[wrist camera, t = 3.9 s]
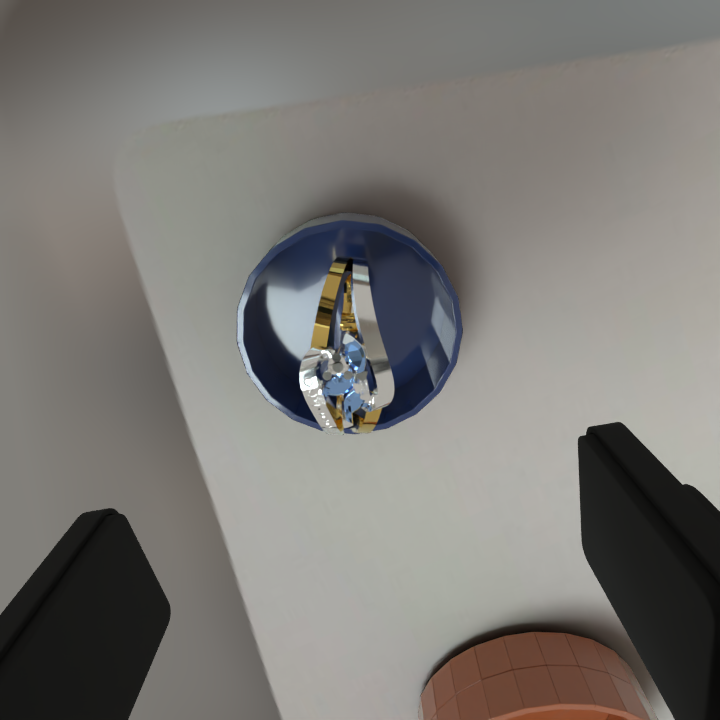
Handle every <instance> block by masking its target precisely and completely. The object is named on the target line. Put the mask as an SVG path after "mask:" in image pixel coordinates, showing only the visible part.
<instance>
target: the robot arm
mask: <svg viewBox="0 0 720 720" xmlns="http://www.w3.org/2000/svg"><path fill="white" fill-rule="evenodd" d="M578 458H579V484H580V510H581V536H582V546H583V550H584V554H585V556H586V559H587V561H588V563H589V565H590V567H591V568H592V570H593V572H594V574H595V576H596V578H597V579H598V581H599V583H600V585H601V587H602V588H603V590H604V592H605V594H606V596H607V597H608V599H609V601H610V603H611V605H612V606H613V608H614V610H615V612H616V614H617V616H618V617H619V619H620V621H621V623H622V625H623V626H624V628H625V630H626V632H627V634H628V635H629V637H630V639H631V641H632V643H633V644H634V646H635V648H636V650H637V652H638V654H639V655H640V657H641V659H642V661H643V663H644V664H645V666H646V668H647V670H648V672H649V673H650V675H651V677H652V679H653V681H654V682H655V684H656V686H657V688H658V690H659V692H660V693H661V695H662V697H663V699H664V701H665V702H666V704H667V706H668V708H669V710H670V711H671V713H672V715H673V717H674V719H675V720H720V511H719V510H718V509H717V508H716V507H715V506H714V505H713V504H712V503H711V502H710V501H709V500H708V499H707V498H706V497H705V496H704V495H703V494H702V493H701V492H699V491H698V490H697V489H696V488H694V487H693V486H690V485H688V484H684V485H682V484H681V483H680V482H679V481H678V480H677V479H676V478H675V477H674V476H673V475H672V474H671V473H670V471H669V470H668V469H667V468H666V467H665V466H664V465H663V464H662V463H661V462H660V461H659V460H658V459H657V458H656V457H655V456H654V455H653V454H652V453H651V452H650V451H649V450H648V449H647V448H646V447H645V446H644V445H643V444H642V443H641V442H640V441H639V440H638V439H637V438H636V437H635V435H634V434H633V433H632V432H631V431H630V430H629V429H628V428H627V427H626V426H625V425H624V424H622V423H621V422H615V423H610V424H604V425H598V426H592V427H589V428H588V429H587V432H586V435H585V436H580V437H579V439H578ZM170 614H171V613H170V604H169V602H168V600H167V598H166V596H165V594H164V592H163V590H162V588H161V586H160V584H159V582H158V580H157V578H156V576H155V574H154V572H153V570H152V568H151V566H150V564H149V562H148V560H147V558H146V556H145V554H144V552H143V550H142V549H141V546H140V544H139V542H138V540H137V538H136V536H135V534H134V532H133V530H132V528H131V526H130V524H129V522H128V520H127V518H126V517H125V516H124V515H123V514H119V513H118V512H117V511H116V510H115V509H112V508H108V509H102V510H96V511H91V512H86V513H83V514H81V515H80V516H79V517H78V518H77V520H76V521H75V522H74V523H73V524H72V526H71V527H70V528H69V530H68V531H67V532H66V533H65V534H64V536H63V537H62V538H61V540H60V541H59V542H58V543H57V545H56V546H55V547H54V548H53V550H52V551H51V552H50V553H49V555H48V556H47V557H46V558H45V559H44V561H43V562H42V563H41V565H40V566H39V567H38V568H37V570H36V571H35V572H34V573H33V575H32V576H31V577H30V578H29V580H28V581H27V582H26V583H25V585H24V586H23V587H22V588H21V590H20V591H19V592H18V593H17V595H16V596H15V597H14V598H13V600H12V601H11V602H10V603H9V605H8V606H7V607H6V608H5V610H4V611H3V612H2V613H1V615H0V720H128V718H129V716H130V714H131V711H132V709H133V707H134V704H135V702H136V699H137V697H138V695H139V692H140V690H141V687H142V685H143V683H144V681H145V678H146V676H147V673H148V671H149V669H150V666H151V664H152V661H153V659H154V656H155V654H156V652H157V650H158V647H159V645H160V642H161V640H162V638H163V635H164V633H165V631H166V628H167V626H168V623H169V620H170Z"/></svg>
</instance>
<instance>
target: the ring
mask: <svg viewBox="0 0 720 720" xmlns="http://www.w3.org/2000/svg"><path fill="white" fill-rule="evenodd" d="M343 286H344V303H343V309H342V315H341V324H340V330H341V337H340V348H339V347H338V348H334V335H335V323H336V315H337V309H338V304H339V299H340V296H341V292H342V289H343ZM357 332H358V333H359V337H360V340H361V343H362V344H361V343H360V342H359V341H358V340H357ZM366 359H367V362H368V365H369V368H370V371H371V374H372V378H373V383H374V391H370V392H369V385H368V379H367V372H368V370H367V366H366ZM325 360H328V365H327V366H326V368H325V371H324V373H323V378H324V379H325V380H326V381H324V380H323V381H322V377H321V365H322V363H323V361H325ZM300 385H301V389H302V392H303V395H304V398H305V400H306V402H307V404H308V406H309V408H310V410H311V411H312V413H313V415H314V417H315V418H316V420H317V422H318V423H319V425H320V427H321V428H322V429H323V431H324V432H325V433H326V434H337V435H344V434H345V428H348V427H350V428H351V430H352V431H353V432H354V433H370V432H371V431H372V430H373V429H374V427H375V426H376V424H377V421H378V419H379V416H380V413H381V410H382V408H383V407H386V406H388V405H389V404H390V403H391V401H392V399H393V396H394V379H393V375H392V371H391V367H390V364H389V361H388V358H387V354H386V351H385V348H384V345H383V342H382V338H381V335H380V331H379V328H378V324H377V320H376V316H375V311H374V306H373V301H372V296H371V290H370V283H369V275H368V264H367V259H366V258H360V257H350V256H341V255H340V256H338V257H337V258H336V259H335V260H334V262H333V264H332V266H331V268H330V270H329V273H328V275H327V278H326V281H325V284H324V287H323V291H322V294H321V298H320V302H319V306H318V310H317V315H316V319H315V325H314V330H313V336H312V342H311V348H310V350H309V351H308V352H307V353H306V355H305V356H304V358H303V360H302V363H301V366H300ZM329 395H332V396H336V398H335V406H334V404H333V403H332V401H331V399H330V397H329Z"/></svg>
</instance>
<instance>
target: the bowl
mask: <svg viewBox="0 0 720 720" xmlns="http://www.w3.org/2000/svg"><path fill="white" fill-rule="evenodd" d="M418 717H419V720H658V718H657V716H656V714H655V713H654V711H653V709H652V707H651V705H650V703H649V702H648V700H647V698H646V696H645V694H644V692H643V690H642V688H641V686H640V685H639V683H638V681H637V679H636V677H635V675H634V673H633V672H632V670H631V668H630V666H629V665H628V664H627V663H626V662H625V661H624V660H623V659H622V658H621V657H620V656H619V655H618V654H617V653H616V652H615V651H613V650H612V649H610V648H608V647H606V646H604V645H602V644H600V643H598V642H596V641H594V640H592V639H589V638H584V637H580V636H576V635H572V634H568V633H554V632H528V633H521V634H514V635H507V636H503V637H499V638H496V639H493V640H490V641H487V642H484V643H481V644H478V645H475V646H473V647H471V648H469V649H468V650H466V651H464V652H462V653H461V654H459V655H457V656H455V657H454V658H452V659H450V661H448V662H447V663H446V664H445V665H444V666H443V667H442V668H441V669H440V670H439V671H437V672H436V673H435V674H434V675H433V677H431V679H430V680H429V682H428V684H427V686H426V687H425V689H424V691H423V692H422V694H421V699H420V705H419V711H418Z"/></svg>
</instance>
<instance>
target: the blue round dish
mask: <svg viewBox="0 0 720 720" xmlns="http://www.w3.org/2000/svg"><path fill="white" fill-rule="evenodd" d="M340 255H341V256H350V257H360V258H366V259H367V264H368V275H369V283H370V290H371V296H372V301H373V306H374V311H375V316H376V320H377V324H378V328H379V331H380V335H381V338H382V342H383V345H384V348H385V351H386V354H387V358H388V361H389V364H390V367H391V371H392V375H393V379H394V396H393V399H392V401H391V403H390V404H389V405H388V406H386V407H383V408H382V410H381V413H380V416H379V419H378V421H377V424H376V426H375V427H374V429H373V430H372V431H376V430H381V429H387V428H389V427H391V426H393V425H395V424H397V423H399V422H401V421H403V420H405V419H407V418H409V417H411V416H414V415H416V414H417V413H418V412H419V411H420V410H421V409H422V408H423V407H425V406H426V405H427V404H428V403H429V402H430V401H431V400H432V399H433V398H434V397H435V396H436V395H438V394H439V393H440V391H441V390H442V388H443V386H444V384H445V383H446V381H447V379H448V377H449V376H450V374H451V372H452V370H453V369H454V367H455V365H456V363H457V358H458V353H459V348H460V343H461V338H462V333H463V328H462V321H461V313H460V306H459V298H458V296H457V294H456V292H455V290H454V288H453V286H452V284H451V282H450V280H449V278H448V276H447V274H446V272H445V270H444V268H443V266H442V265H441V264H440V263H439V261H438V260H437V259H436V257H435V256H434V255H433V254H432V252H431V251H430V250H428V249H427V248H426V247H425V246H424V245H423V244H422V243H421V242H420V241H419V240H418V239H417V238H416V237H415V236H414V235H413V234H412V233H411V232H410V231H408V230H407V229H405V228H402V227H400V226H398V225H397V224H395V223H392V222H390V221H388V220H385V219H383V218H381V217H379V216H373V215H366V214H358V213H346V212H345V213H339V214H334V215H327V216H324V217H320V218H316V219H312V220H309V221H308V222H306V223H304V224H303V225H301V226H299V227H298V228H296V229H295V230H293V231H291V232H290V233H288V234H286V235H285V236H283V237H282V238H281V239H280V240H279V241H278V242H277V243H276V244H275V245H274V246H273V247H272V248H271V250H270V251H269V252H268V253H267V254H266V256H265V257H264V258H263V259H262V260H261V262H260V263H259V264H258V265H257V267H256V268H255V269H254V270H253V271H252V273H251V274H250V275H249V277H248V280H247V283H246V285H245V288H244V291H243V294H242V296H241V299H240V302H239V305H238V307H237V308H238V309H237V344H238V347H239V350H240V353H241V356H242V359H243V362H244V365H245V368H246V371H247V373H248V375H249V377H250V378H251V379H252V381H253V382H254V384H255V385H256V386H257V388H258V389H259V390H260V392H261V393H262V394H263V396H264V397H265V399H266V400H267V401H268V402H270V403H271V404H272V405H274V406H275V407H276V408H278V409H279V410H280V411H282V412H283V413H284V414H286V415H287V416H288V417H290V418H291V419H293V420H295V421H297V422H300V423H303V424H305V425H308V426H310V427H313V428H316V429H318V430H321V431H323V429H322V428H321V427H320V425H319V423H318V422H317V420H316V418H315V417H314V415H313V413H312V411H311V410H310V408H309V406H308V404H307V402H306V400H305V398H304V395H303V392H302V389H301V385H300V366H301V363H302V360H303V358H304V356H305V355H306V353H307V352H308V351H309V350H310V348H311V342H312V336H313V330H314V325H315V319H316V315H317V310H318V306H319V302H320V298H321V294H322V291H323V287H324V284H325V281H326V278H327V275H328V273H329V270H330V268H331V266H332V264H333V262H334V260H335V259H336V258H337V257H338V256H340ZM343 303H344V286H343V289H342V292H341V296H340V299H339V304H338V309H337V315H336V323H335V335H334V348H338V347H339V348H340V337H341V330H340V324H341V315H342V309H343ZM357 340H358V341H359V342H360V343H361V340H360V337H359V333H358V332H357ZM361 344H362V343H361ZM327 365H328V360H325V361H323V363H322V365H321V377H322V381H323V380H324V381H326V380H325V379H324V378H323V373H324V371H325V368H326V366H327ZM366 366H367V370H368V372H367V379H368V385H369V392H370V391H374V383H373V378H372V374H371V371H370V368H369V365H368V362H367V359H366ZM329 397H330V399H331V401H332V403H333V404H334V406H335V398H336V396H332V395H329ZM345 433H347V434H360V433H354V432H353V431H352V430H351V428H350V427H348V428H345Z"/></svg>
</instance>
